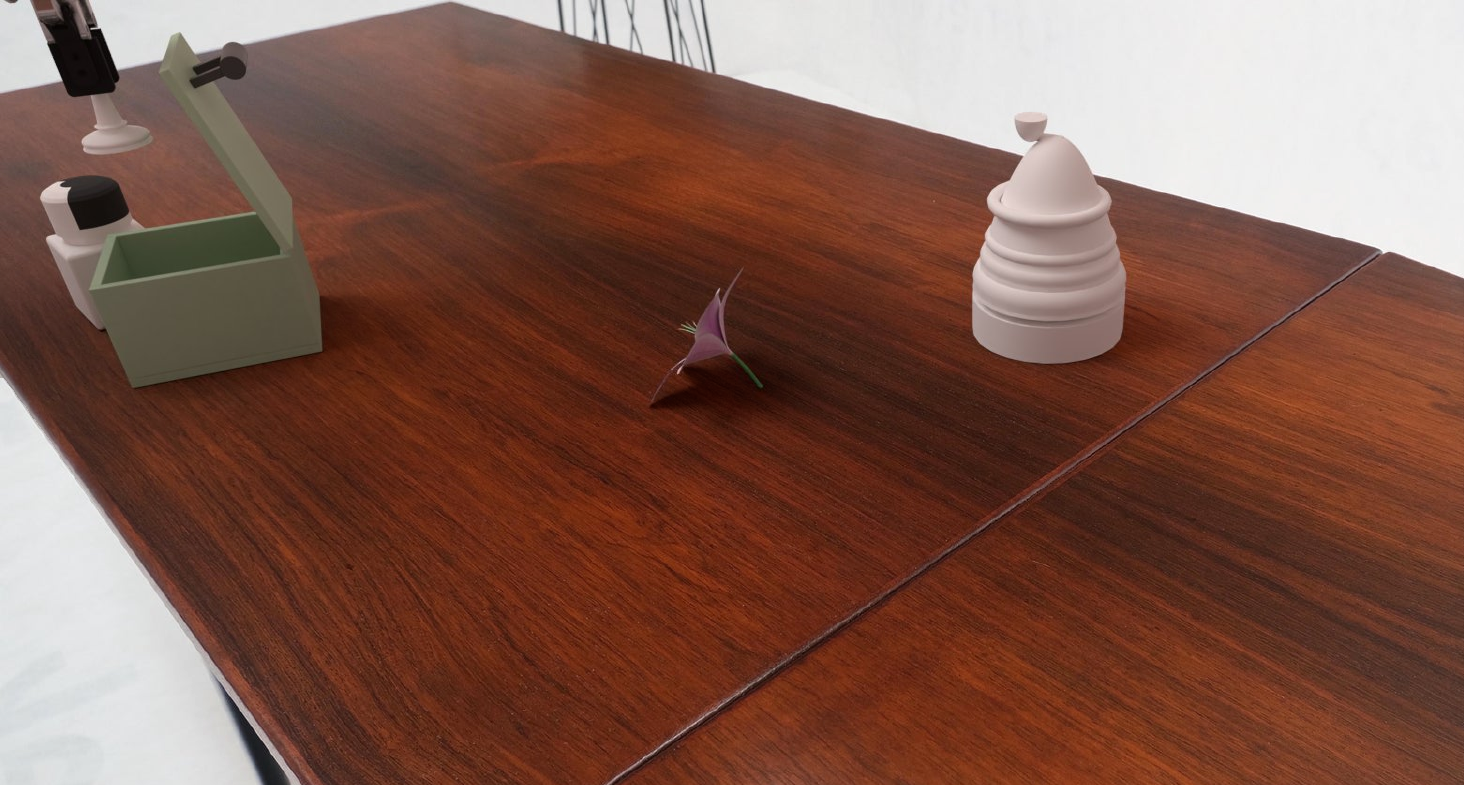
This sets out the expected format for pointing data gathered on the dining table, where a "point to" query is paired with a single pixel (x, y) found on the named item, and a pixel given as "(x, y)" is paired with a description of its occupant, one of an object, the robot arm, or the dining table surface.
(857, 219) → the dining table surface
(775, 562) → the dining table surface
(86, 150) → the chess piece
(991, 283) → the honey pot
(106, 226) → the medicine bottle
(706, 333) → the lily
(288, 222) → the box lid
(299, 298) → the green box
